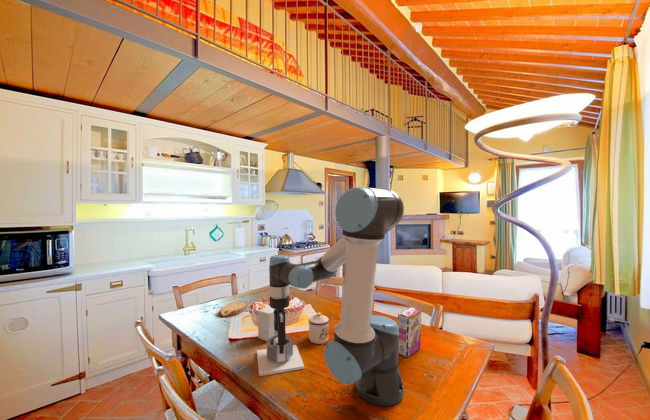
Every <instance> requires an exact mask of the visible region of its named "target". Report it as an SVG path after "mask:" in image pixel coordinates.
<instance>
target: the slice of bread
mask: <svg viewBox="0 0 650 420" xmlns="http://www.w3.org/2000/svg"><path fill="white" fill-rule="evenodd" d="M247 306H248V305H247V303H246V301H242V300H235V301H234V300H233V301H231V302H229V303H227V304H225V305H223V306H222V307H221V308H220V310H219V312H218V315H219V317H221V318H225V319H226V318H227V319H228V318H231V317H235V316H238V315H240V314H242V313H243V312H244V311H245V310H246V309H247ZM234 315H235V316H234Z"/></svg>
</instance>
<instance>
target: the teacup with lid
mask: <svg viewBox="0 0 650 420" xmlns="http://www.w3.org/2000/svg"><path fill="white" fill-rule="evenodd" d="M329 321H330V319H329V317H328V316H326V315H323V314H322V313H321V312H317V313H316V314H315V315H311V316H310V317H309V318H308V331H309V332H308V340H309V341H310V342H311V343H312V344H317V345H318V344H321V345H322V344H325V343H326V342H327V341H329ZM327 343H328V342H327Z"/></svg>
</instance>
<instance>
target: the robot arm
mask: <svg viewBox="0 0 650 420" xmlns="http://www.w3.org/2000/svg"><path fill="white" fill-rule="evenodd" d="M404 211H405V207H404V202H403V200H402V198H401V197H400V195H399V194H397V193H396V192H395V191H393V190H391V189H387V188H374V187H367V186H362V187H361V186H359V187H351V188H349V189H347V190H346V191H345V192H344V193H342V194H341V195H340V196H339V198H338V200H337V202H336V205H335V210H334V215H335V220H336V222H337V224H338V226H339V228H341V229H342V231H341V232H342V233H341V234H342V235H341V236H342V237H341V238H340V239H338V241H336V242H335V243H334V244H333V245H332V246H331V247H330V248H329V249H328V250H326V251H325V252H324V254H323V255H322V256H320V257H319V258H318V259H317V260H313V261H307V262H302V263H292V262H291V260H290V256H289V255H287V254H274V255H271V256H270V258H269V266H268V269H269V270H268V272H269V276H268V277H269V287H268V291H269V293H268V294H269V295H268V296H269V304H268V306H270V307H271V308H273V309H274V330H276V331H274V336H278V343H276V345H277V362H282V361H285V345H286V336H287V335H286V333H287V332H286V311H285V309H286V308H288V307H289V306H290V296H289V295H290V290H291V288H292V287H294V288H297V289H307V288H308V287H309V286H311V285H312V283H314V282H318V281H323V280H327V279H330V278H332V277H335V276H336V274H337V272H338V269H339V268H341V267H342V266H343V265H344V275H343V286H342V297H341V298H342V299H341V311H340V320H339V322H337V323H336V324H335V325H334V328H333V329H334V330H333V331H334V332H333V340H331V341H329V342H327V344H326V345H325V346H324V350H323V351H324V352H323V356H324V362H325V364H326V366H327V369H328V370H329V372H330V374H331V375H332V376H333V377H334V379H335V380H336V381H338V382H339V383H341V384H344V385H347V386H348V385H352V384H354V383H355V389H356V390H355V391H356V393H357V395H358V396H359V397H360V398H361V399H362V400H363V401H365V402H366V403H369V404H371V405H374V406H378V407H391V406H394V405H397V404H399V403H400V402H401V401H402V400H403V399H404V397H405V395H404V393H405V390H404V389H405V388H404V387H405V385H404V382H403V379H402V375H401V372H400V369H399V354H398V347H399V333H398V322H396V321H395V320H393V319H392V318H390V317H387V316H383V315H377V314H376V315H374V314H373V313H372V312H373V303H374V292H375V291H374V290H375V284H376V283H375V281H376V273H377V272H376V270H377V260H378V250H379V249H378V248H379V244H380V243H382V241H384V240H385V238H386V237H385V235H386V234H387V233H389V232H390V231H392V229H394V228H395V227H396V226H397V225H399V223H400V222H401V220H402V219H403V217H404Z"/></svg>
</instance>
